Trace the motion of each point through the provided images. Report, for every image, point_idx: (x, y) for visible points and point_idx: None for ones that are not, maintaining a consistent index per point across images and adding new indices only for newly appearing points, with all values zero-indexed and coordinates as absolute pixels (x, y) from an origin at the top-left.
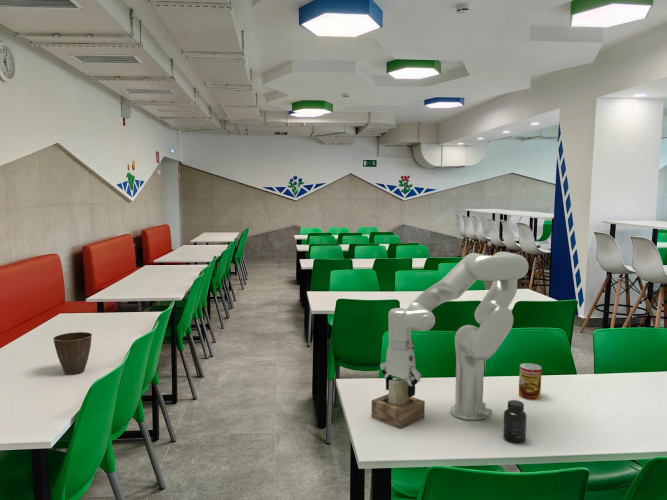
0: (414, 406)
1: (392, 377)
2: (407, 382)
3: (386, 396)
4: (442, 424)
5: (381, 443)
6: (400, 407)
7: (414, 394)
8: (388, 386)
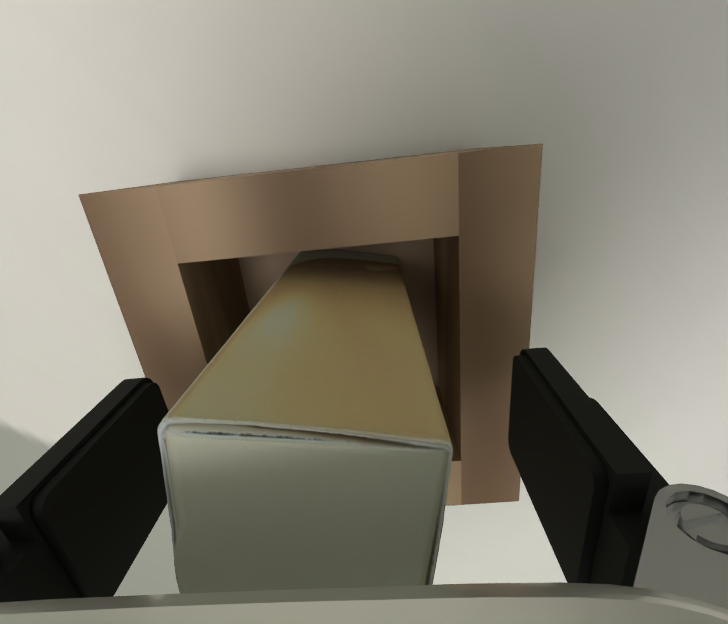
0: (524, 330)
1: (22, 508)
2: (441, 485)
3: (180, 383)
4: (667, 124)
5: (516, 562)
6: (464, 457)
7: (545, 356)
8: (161, 488)
